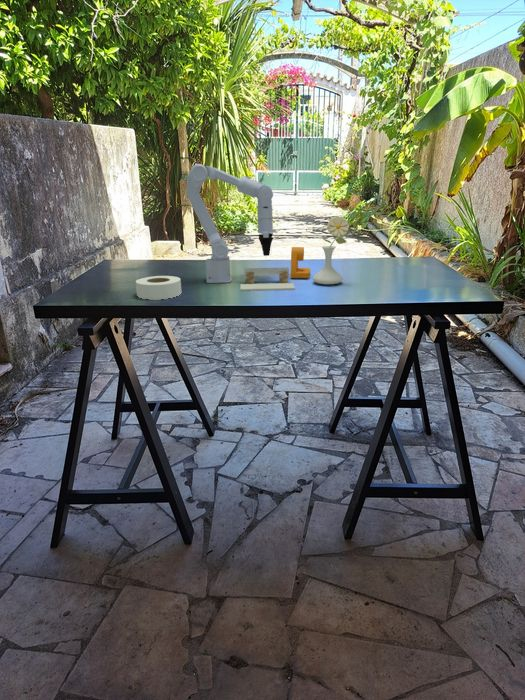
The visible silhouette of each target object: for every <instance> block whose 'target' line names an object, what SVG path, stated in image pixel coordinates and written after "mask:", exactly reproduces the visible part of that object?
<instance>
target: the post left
mask: <svg viewBox="0 0 525 700" xmlns="http://www.w3.org/2000/svg"><path fill="white" fill-rule="evenodd" d="M245 284H255V276H254V273H246V276H245Z"/></svg>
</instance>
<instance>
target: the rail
mask: <svg viewBox="0 0 525 700" xmlns="http://www.w3.org/2000/svg"><path fill="white" fill-rule="evenodd" d="M280 272H288V276H289V275H290V267H289V266H288V267H247V268H246V267H245V268H244V276H245V277H246V273H254V277H255V276H279V275H280Z"/></svg>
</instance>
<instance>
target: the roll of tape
mask: <svg viewBox="0 0 525 700" xmlns="http://www.w3.org/2000/svg"><path fill="white" fill-rule="evenodd" d="M135 290H136V296H138V297H139V298H138V297H137V298H138V299H140V298H142V299H141V300H145V299H149V300H148V301H162V300H161V299H164V300H169V299H168V298H171V299H174V298H173V297H175V298H177V297H176V296H178V297H180V296H181V295H182V294H181V293H182V281H181V278H180V277H178V276H173V275H155V276H146V277H143V278H139V279H136V280H135ZM180 294H181V295H180ZM179 295H180V296H179Z"/></svg>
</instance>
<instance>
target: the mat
mask: <svg viewBox="0 0 525 700" xmlns="http://www.w3.org/2000/svg"><path fill="white" fill-rule="evenodd" d="M239 287H240V289H239V291H241V292H244V291H246V292H248V291H249V290H253V291H292V290H293V291H295V290H296V286H295V284H294V283H293V282H290V283H289V282H288V283H280V282H278V283H254V284H246V283H240V286H239Z"/></svg>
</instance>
